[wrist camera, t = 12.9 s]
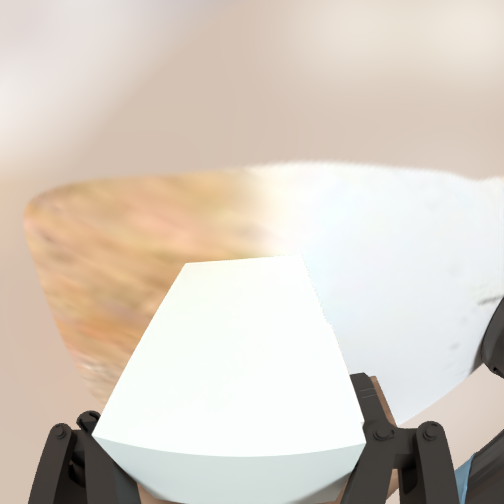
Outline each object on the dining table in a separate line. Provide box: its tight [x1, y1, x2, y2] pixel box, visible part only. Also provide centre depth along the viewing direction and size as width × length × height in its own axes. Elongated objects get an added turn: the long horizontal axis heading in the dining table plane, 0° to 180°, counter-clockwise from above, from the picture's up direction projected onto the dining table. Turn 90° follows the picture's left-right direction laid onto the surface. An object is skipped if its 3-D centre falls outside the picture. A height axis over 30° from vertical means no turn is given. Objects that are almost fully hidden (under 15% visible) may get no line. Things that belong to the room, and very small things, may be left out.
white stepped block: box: [92, 255, 366, 504], centre depth 16 cm, size 23×8×14 cm, turn 5°
